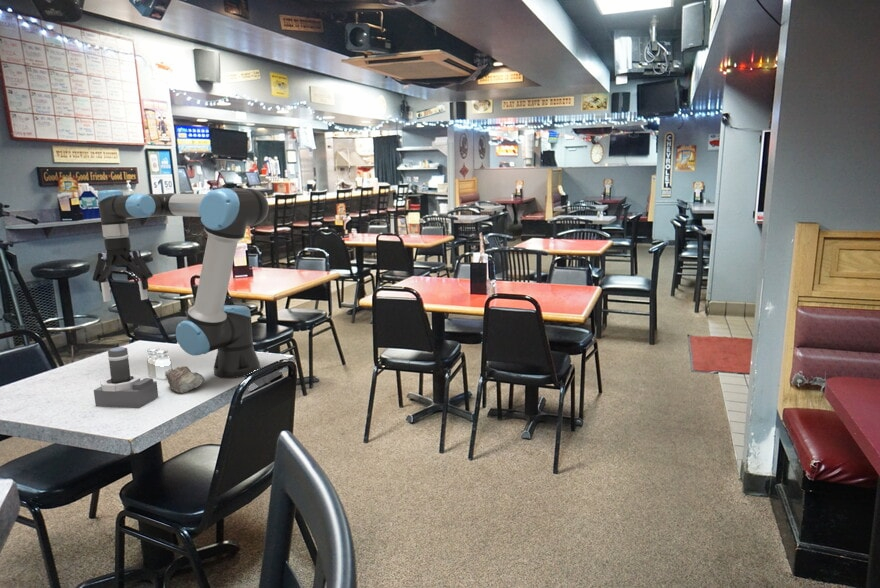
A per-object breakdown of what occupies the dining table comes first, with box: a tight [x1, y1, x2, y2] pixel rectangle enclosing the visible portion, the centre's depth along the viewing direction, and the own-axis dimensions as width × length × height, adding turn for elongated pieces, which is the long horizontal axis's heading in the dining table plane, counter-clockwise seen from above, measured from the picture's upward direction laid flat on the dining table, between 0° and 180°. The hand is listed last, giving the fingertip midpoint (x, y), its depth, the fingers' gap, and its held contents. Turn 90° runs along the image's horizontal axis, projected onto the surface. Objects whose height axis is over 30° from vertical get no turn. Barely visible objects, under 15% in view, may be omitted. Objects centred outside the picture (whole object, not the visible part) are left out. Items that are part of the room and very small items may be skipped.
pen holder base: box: [93, 373, 159, 409], centre depth 174 cm, size 14×10×7 cm
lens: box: [107, 346, 131, 384], centre depth 172 cm, size 5×5×11 cm
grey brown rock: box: [164, 365, 205, 394], centre depth 185 cm, size 14×9×10 cm
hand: (126, 300), depth 197 cm, fingers open, 13 cm apart
